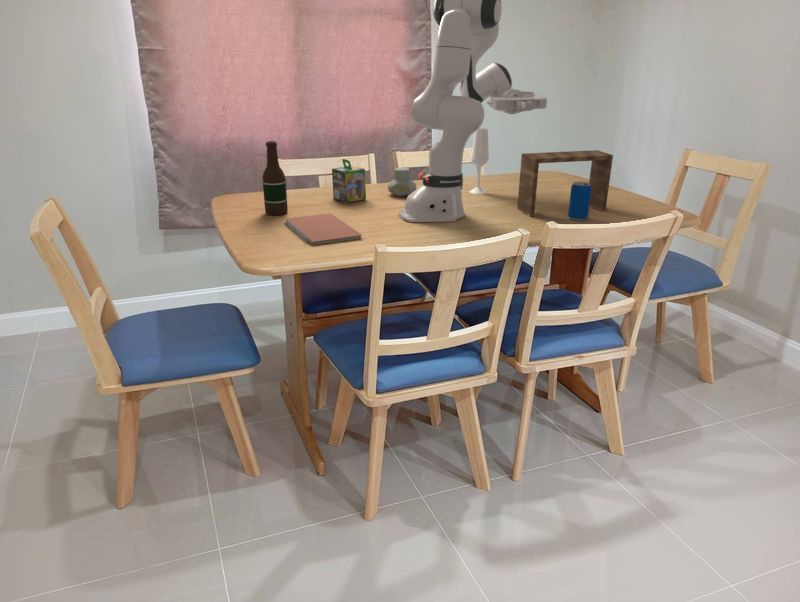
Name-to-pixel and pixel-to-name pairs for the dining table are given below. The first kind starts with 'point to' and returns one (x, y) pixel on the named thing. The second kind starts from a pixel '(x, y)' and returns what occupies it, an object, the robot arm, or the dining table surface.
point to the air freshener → (402, 183)
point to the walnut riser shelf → (531, 161)
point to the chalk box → (348, 183)
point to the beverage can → (579, 200)
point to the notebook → (321, 229)
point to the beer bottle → (274, 184)
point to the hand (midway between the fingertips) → (528, 105)
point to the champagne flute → (480, 155)
